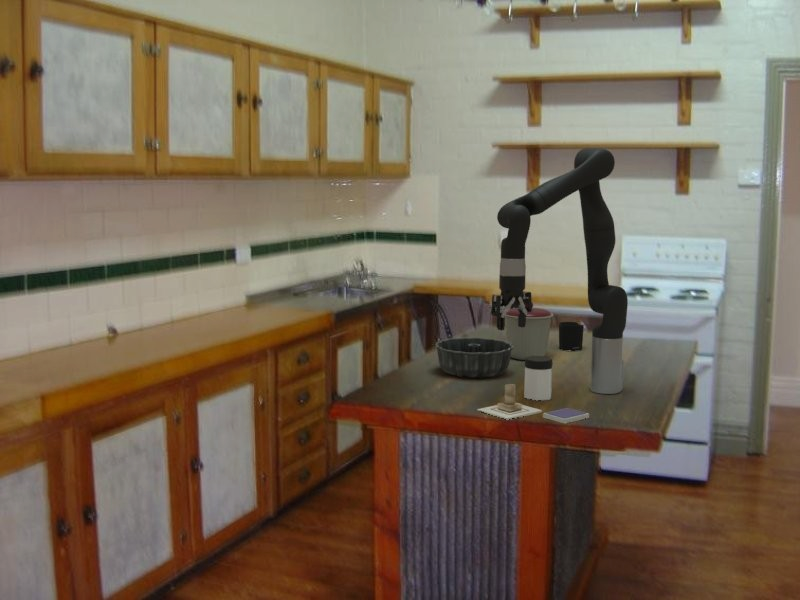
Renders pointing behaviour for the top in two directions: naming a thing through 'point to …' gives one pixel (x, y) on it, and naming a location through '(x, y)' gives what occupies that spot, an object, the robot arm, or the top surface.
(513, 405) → the stamp
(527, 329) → the canister
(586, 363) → the top surface
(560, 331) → the pen holder
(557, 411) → the ink pad
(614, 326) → the robot arm
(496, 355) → the bundt pan
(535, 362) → the jar
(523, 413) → the sheet
